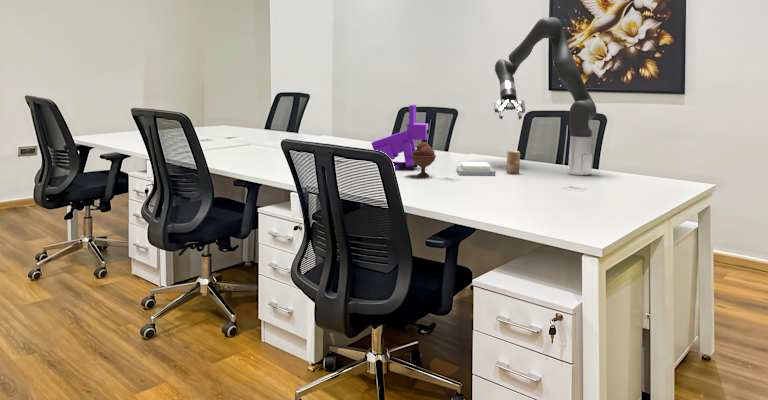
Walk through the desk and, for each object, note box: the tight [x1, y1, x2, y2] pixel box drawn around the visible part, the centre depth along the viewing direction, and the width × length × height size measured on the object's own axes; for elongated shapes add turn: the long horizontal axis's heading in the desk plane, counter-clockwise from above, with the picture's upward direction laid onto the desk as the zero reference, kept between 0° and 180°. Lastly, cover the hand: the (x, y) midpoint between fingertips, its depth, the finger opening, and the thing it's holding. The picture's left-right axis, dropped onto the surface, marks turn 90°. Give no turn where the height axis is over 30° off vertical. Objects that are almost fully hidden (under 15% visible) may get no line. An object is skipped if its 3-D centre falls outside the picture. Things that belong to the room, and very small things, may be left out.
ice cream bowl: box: [411, 141, 437, 178], centre depth 281 cm, size 11×11×15 cm
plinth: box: [456, 161, 496, 177], centre depth 292 cm, size 16×16×4 cm
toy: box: [371, 104, 430, 171], centre depth 304 cm, size 14×28×30 cm, turn 78°
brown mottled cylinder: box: [506, 150, 521, 175], centre depth 291 cm, size 5×5×10 cm
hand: (510, 118), depth 299 cm, fingers open, 8 cm apart
